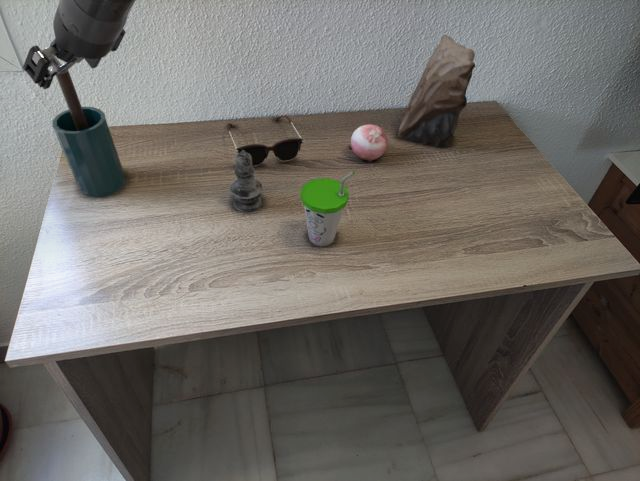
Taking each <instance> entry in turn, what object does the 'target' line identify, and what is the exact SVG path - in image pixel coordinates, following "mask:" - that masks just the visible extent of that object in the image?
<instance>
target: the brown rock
mask: <svg viewBox="0 0 640 481" xmlns="http://www.w3.org/2000/svg"><path fill="white" fill-rule="evenodd" d="M475 57H476V54H475V51H474V49H472V48H467V47H466V46H465V45H464V44H463V45H462V44H460V43H457V42H456V41H454V39H453V37H451V36H449V35H447V34H443V35H442V36H441V38H440V41H439V42H438V44H437V46H436V47H435V49H434V51H432V54H431V56H430V57H429V59H428V62H427V64H426V66H425V68H424V71H423V73H422V75H421V77H420V79H419V81H418V83H417V85H416V86H415V89H414V90H413V93H412V95H411V96H410V98H409V102H408V104H407V107H406V109H405V112H404V114H403V116H402V118H401V121H400V122H401V123H400V125H399V128H398V133H397V134H398V135H397V139H400V140H404V141H410V142H413V143H420V144H423V145H427V146H434V147H435V148H448V147H450V145H451V143H452V142H451V140H452V138H454V135H455V132H456V130H457V127H458V124H459V121H460V118H459V117H460V114H461V112H462V111H463V110H464V109H465V108H466V107H467V104H468V98H467V90H468V87H469V85H470V82H471V79H472V78H473V77H472V76H473V71H474V70H475V69H474V68H476V64H475V62H474V60H475Z"/></svg>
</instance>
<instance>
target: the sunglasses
mask: <svg viewBox="0 0 640 481" xmlns="http://www.w3.org/2000/svg"><path fill="white" fill-rule="evenodd" d="M281 118H286V119H287V120H288V122H289V123H290V124H291V126H292V127H293V130H294V131H295V133H296V134H297V136H298V137H295V138H286V139H283V140H279V141H277V142H275V143H274V144H272V145H269V146H268V145H266V144H259V143H255V144H252V143H251V144H247V145H246V144H245V145H243V146H239V147H237V144H236V143H235V140H234V139H233V135H232V133H231V132H232V131H231V129H230V128H232V127H233V124H232V123H230V122H226V128H227V131H228V133H229V135H230V138H231V141H232V143H233V145H234V148H235V151H236V153H237V154H238V153H241V151H242V150H244V151H245V152H247V153H249V154H250V155H251V157H252V166H253V167H258V166H260V165H262V164H263V163H264V162H265V160H266V159H267V158H268V156H269V153H270V152H271V151H272V152H273V154H274V156H275V157H276V158H277V159H278V160H279V161H280V162H289V161H292V160H294V159H296V157H297V156H298V154H299V152H300V151H301V146H302V144H303V143H304V139H303V138H302V136H301V135H300V133H299V132H298V130H297V128H296V127H295V125H294V123H293V120H291V118H290V116H288V115H286V114H284V115H283V114H282V115H280V116H277V117H275V121H279V120H280V119H281Z"/></svg>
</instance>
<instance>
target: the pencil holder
mask: <svg viewBox="0 0 640 481" xmlns="http://www.w3.org/2000/svg"><path fill="white" fill-rule="evenodd" d="M82 109H83V112H84V115H85V117H86V120H87V123H88V126H89V128H88V129H86V130H81V131H77V129H76V126H75V124H74V121H73V119H72V116H71V113H70V111H69V109H66V110H63V111H62V112H60V113H58V114H56V116H55V117H54V118H53V120H52V121H51V122H52V125H51V126H52V129H53V131H54V133H55V136H56V138H57V140H58V143H59V146H60V147H61V150H62V152H63V155H64V157H65V159H66V162H67V164H68V166H69V169H70V171H71V173H72V176H73V178H74V181H75V183H76V185H77V187H78V189H79V191H80V192H81V194H83V195H84V196H87V197H89V198H104V197H108V196H111V195H113V194H116V193H117V192H119V191H120V190H122V188H123V187H124V186H125V184H126V176H125V171H124V169H123V166H122V163H121V159H120V156H119V153H118V150H117V148H116V144H115V141H114V137H113V135H112V132H111V129H110V126H109V122H108V119H107V116H106V114H105V112H104V111H102V109H100V108H97V107H94V106H82Z"/></svg>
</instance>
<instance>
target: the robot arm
mask: <svg viewBox="0 0 640 481" xmlns="http://www.w3.org/2000/svg"><path fill="white" fill-rule="evenodd" d="M136 2H137V0H59V2H58V4H57V8H56V12H55V14H54V17H53V24H52V25H53V32H54V39H53V40H52V41H51V42H50V43H49V45H48V46H47V47H45V49H41V48H40V46H39V45H33V46H32V47H30V48H29V50H28V53H27V54H26V57H25V60H24V62H23V66H22V69H23V70H24V71H25V72H26V74H27V75H28V76H29V77H30V78H31V80H32V81H33V82H34V85H35V84H37V85H38V86H39V88H42V89H43V90H47V89H49V88H50V87H51V84H52V83H53V80H54V77H56V74H58V73H65V72H66V71H67V70H70V69H71V68H72V67H74V65H76V64H80V63H81V62H82V61H83V60H85V62H86V63H87V64H88V66H89V67H90V68H91V69H95V68H97V67H98V66H99V64H100V62H101V60H102V59H103V58H106V57H107V56H108V54H110V52H112V53H113V52H116V51H117V50H118V49H119V47H120V45H121V44H122V41H123V39H124V37H125V35H126V34H127V32H126V30H125V26H126V24H127V21H128V18H129V14H130V12H131V10H132V9H133V7H134V4H136ZM60 61H62V62H64V63H63V64H62V63H61V62H60ZM50 67H52V69H50V70H49V68H50Z"/></svg>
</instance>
